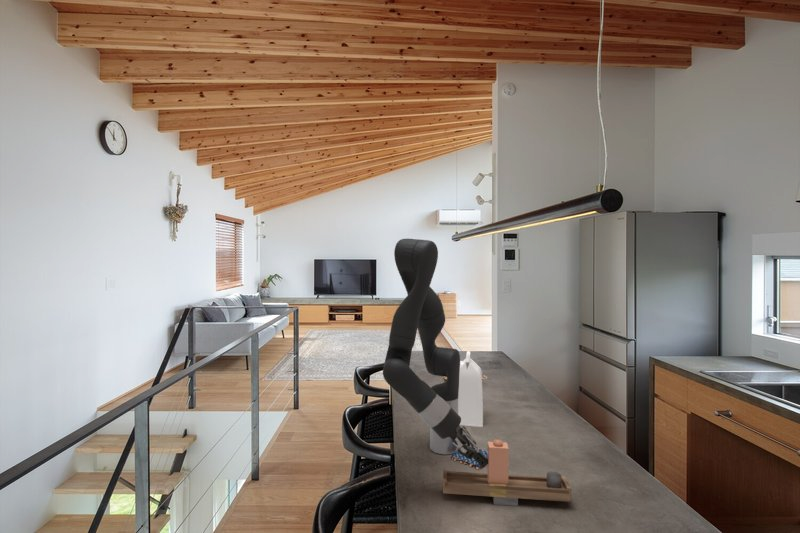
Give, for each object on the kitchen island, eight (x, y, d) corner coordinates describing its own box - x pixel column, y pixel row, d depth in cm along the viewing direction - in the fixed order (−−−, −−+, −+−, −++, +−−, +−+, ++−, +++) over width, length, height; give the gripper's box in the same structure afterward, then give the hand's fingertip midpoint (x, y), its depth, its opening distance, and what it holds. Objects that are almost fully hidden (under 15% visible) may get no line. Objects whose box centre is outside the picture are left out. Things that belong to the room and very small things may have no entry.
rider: (487, 478, 113) (487, 437, 113) (506, 479, 113) (506, 438, 112) (488, 485, 110) (488, 443, 109) (508, 486, 109) (508, 444, 109)
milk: (482, 426, 158) (483, 357, 157) (451, 424, 160) (452, 355, 159) (483, 414, 169) (483, 350, 169) (454, 412, 172) (454, 348, 171)
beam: (443, 487, 116) (443, 462, 116) (564, 495, 112) (564, 469, 112) (442, 501, 110) (443, 474, 110) (571, 509, 106) (571, 482, 106)
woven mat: (466, 449, 140) (466, 443, 140) (495, 459, 133) (496, 453, 133) (449, 461, 132) (449, 454, 132) (479, 472, 125) (479, 465, 125)
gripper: (449, 415, 106) (499, 467, 104) (449, 397, 119) (493, 443, 118) (428, 435, 106) (477, 487, 105) (430, 415, 119) (474, 461, 118)
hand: (485, 463), depth 111 cm, fingers closed
